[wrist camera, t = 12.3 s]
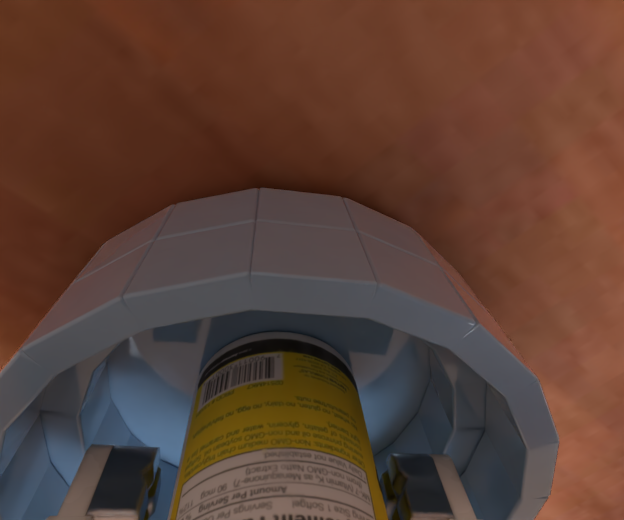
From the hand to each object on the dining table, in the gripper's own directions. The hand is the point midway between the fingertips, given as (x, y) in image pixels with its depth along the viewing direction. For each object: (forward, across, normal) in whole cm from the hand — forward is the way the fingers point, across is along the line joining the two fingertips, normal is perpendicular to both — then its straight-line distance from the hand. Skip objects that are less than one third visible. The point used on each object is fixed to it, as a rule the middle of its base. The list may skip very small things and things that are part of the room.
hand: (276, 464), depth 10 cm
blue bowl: (+3, 0, 0) cm, 3 cm away
